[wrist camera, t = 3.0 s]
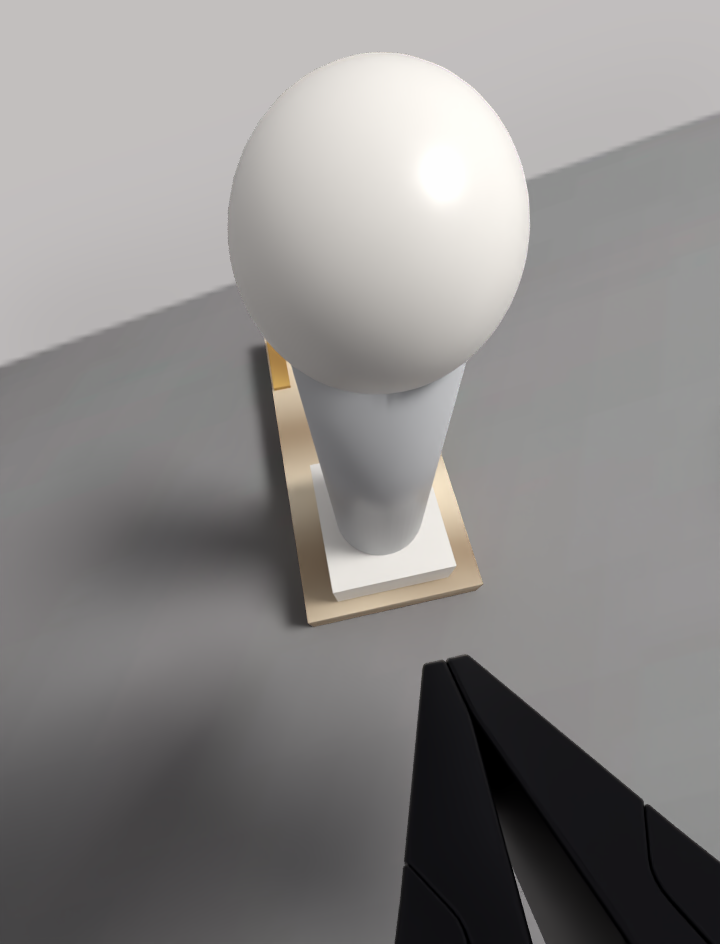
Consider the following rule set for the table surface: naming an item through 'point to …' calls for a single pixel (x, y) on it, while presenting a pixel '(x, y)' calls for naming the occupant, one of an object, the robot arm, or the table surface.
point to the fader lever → (379, 287)
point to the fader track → (308, 527)
